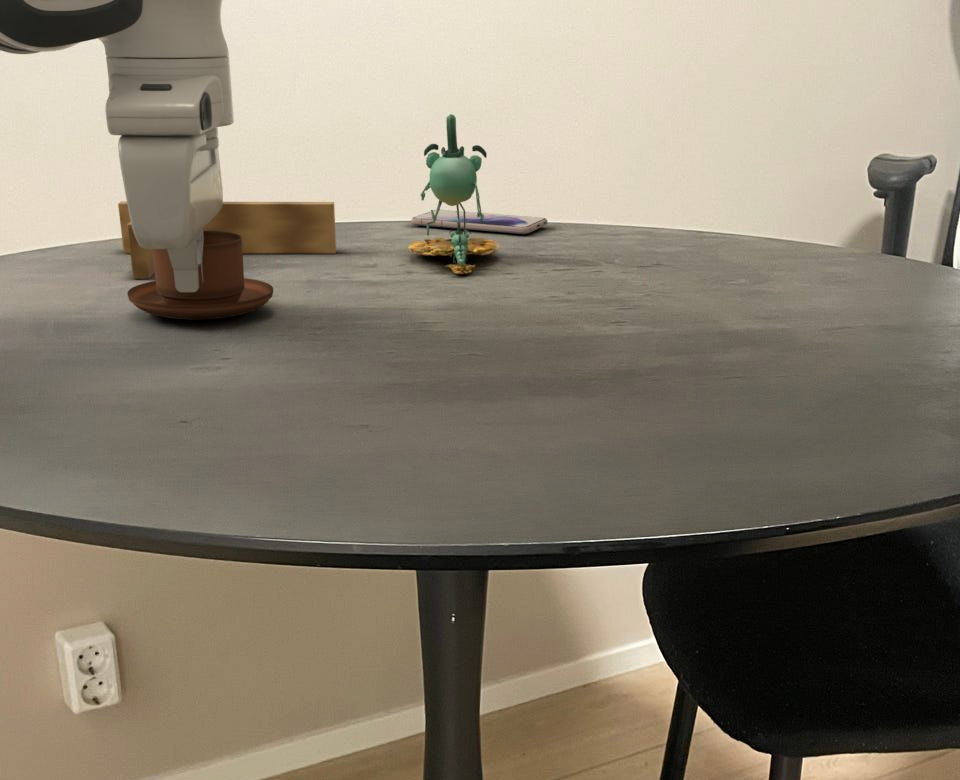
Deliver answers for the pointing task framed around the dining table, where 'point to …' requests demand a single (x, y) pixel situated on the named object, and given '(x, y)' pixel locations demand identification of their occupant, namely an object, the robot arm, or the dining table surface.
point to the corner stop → (253, 230)
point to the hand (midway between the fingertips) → (190, 289)
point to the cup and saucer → (204, 284)
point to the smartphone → (488, 224)
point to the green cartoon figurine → (454, 200)
